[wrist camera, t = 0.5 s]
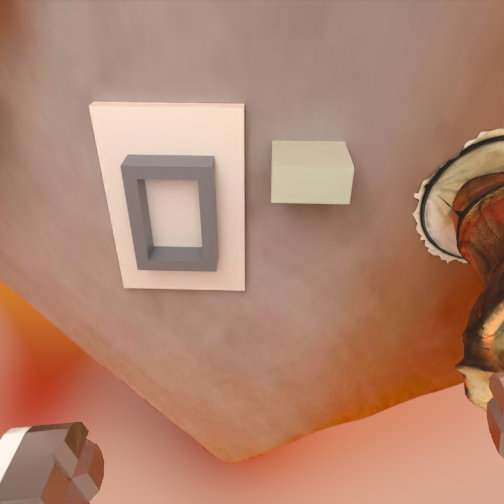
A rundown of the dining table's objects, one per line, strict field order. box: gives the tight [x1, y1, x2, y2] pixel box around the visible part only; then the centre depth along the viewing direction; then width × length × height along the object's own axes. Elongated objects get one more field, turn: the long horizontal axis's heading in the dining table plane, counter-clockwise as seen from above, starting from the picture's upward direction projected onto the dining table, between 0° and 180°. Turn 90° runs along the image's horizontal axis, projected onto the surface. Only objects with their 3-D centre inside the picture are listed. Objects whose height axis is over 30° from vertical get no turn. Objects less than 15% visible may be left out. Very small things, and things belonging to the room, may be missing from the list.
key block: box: [271, 141, 354, 204], centre depth 49 cm, size 4×8×7 cm, turn 90°
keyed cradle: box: [89, 102, 245, 291], centre depth 54 cm, size 24×16×4 cm, turn 0°
